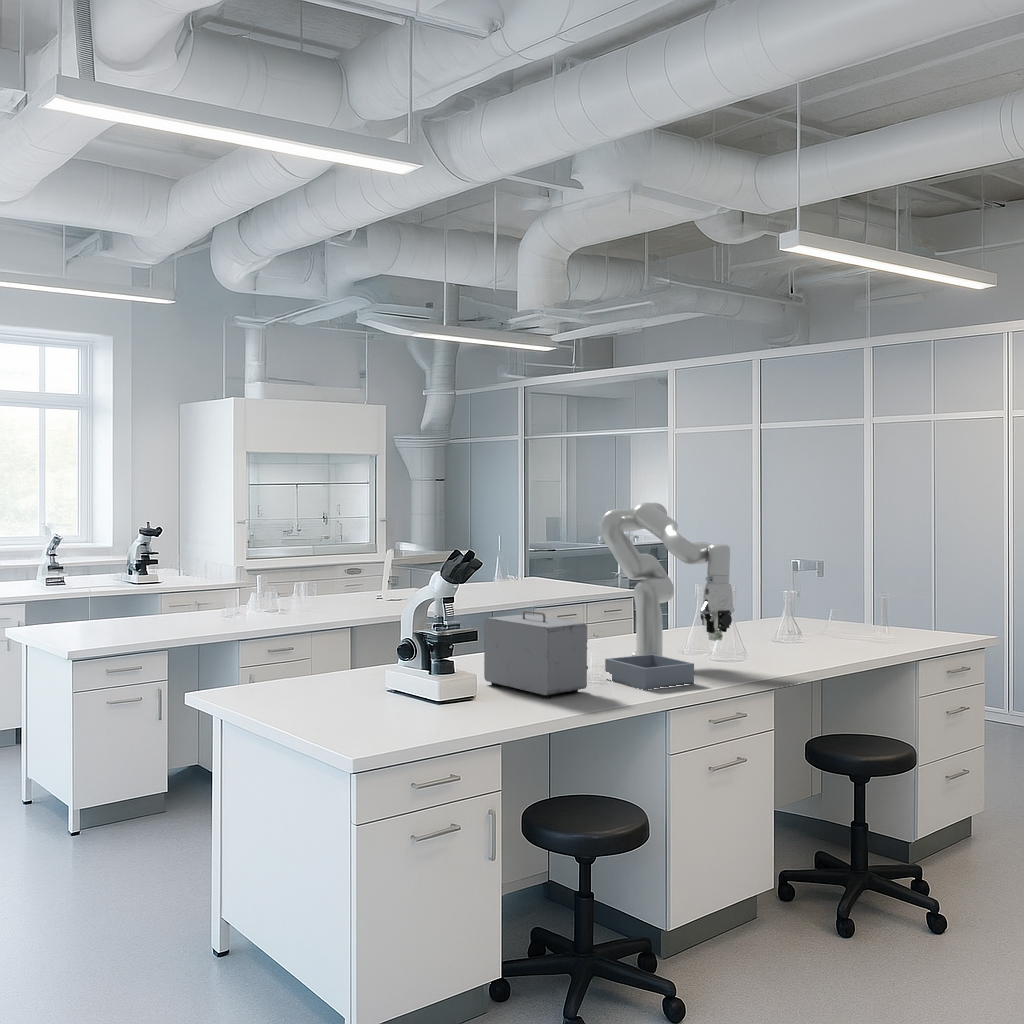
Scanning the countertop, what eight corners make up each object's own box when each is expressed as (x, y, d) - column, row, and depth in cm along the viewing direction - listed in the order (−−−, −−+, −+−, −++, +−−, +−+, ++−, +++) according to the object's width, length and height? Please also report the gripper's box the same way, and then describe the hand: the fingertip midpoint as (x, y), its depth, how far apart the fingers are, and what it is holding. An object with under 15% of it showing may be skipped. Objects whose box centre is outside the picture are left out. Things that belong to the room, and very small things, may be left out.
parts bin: (605, 679, 330) (605, 658, 329) (652, 674, 339) (652, 654, 339) (645, 690, 310) (645, 668, 310) (694, 684, 320) (694, 663, 320)
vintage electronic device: (591, 692, 307) (591, 613, 307) (548, 700, 296) (548, 618, 296) (526, 678, 332) (526, 604, 332) (484, 684, 321) (484, 608, 320)
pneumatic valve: (720, 643, 333) (721, 608, 333) (699, 637, 344) (700, 603, 343) (733, 642, 336) (734, 607, 336) (711, 636, 346) (712, 603, 346)
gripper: (706, 581, 332) (704, 635, 332) (744, 580, 340) (742, 632, 341) (692, 579, 338) (690, 631, 339) (729, 578, 347) (727, 629, 347)
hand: (716, 631), depth 340 cm, fingers closed on pneumatic valve, 5 cm apart
